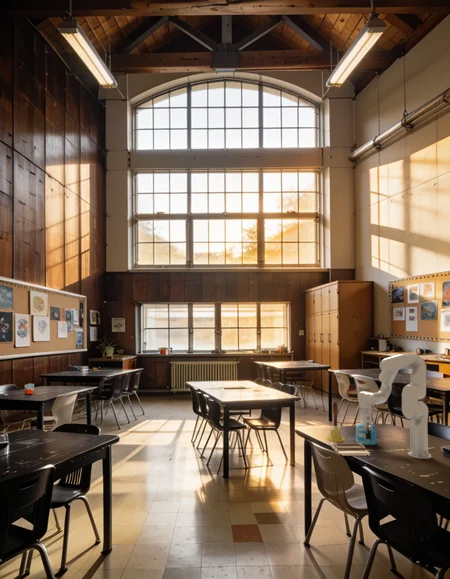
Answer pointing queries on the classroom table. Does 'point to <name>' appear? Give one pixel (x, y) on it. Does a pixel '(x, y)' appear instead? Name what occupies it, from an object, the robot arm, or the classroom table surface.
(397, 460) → the classroom table surface
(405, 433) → the classroom table surface
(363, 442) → the data package
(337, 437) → the handbell
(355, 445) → the jig
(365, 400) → the robot arm
